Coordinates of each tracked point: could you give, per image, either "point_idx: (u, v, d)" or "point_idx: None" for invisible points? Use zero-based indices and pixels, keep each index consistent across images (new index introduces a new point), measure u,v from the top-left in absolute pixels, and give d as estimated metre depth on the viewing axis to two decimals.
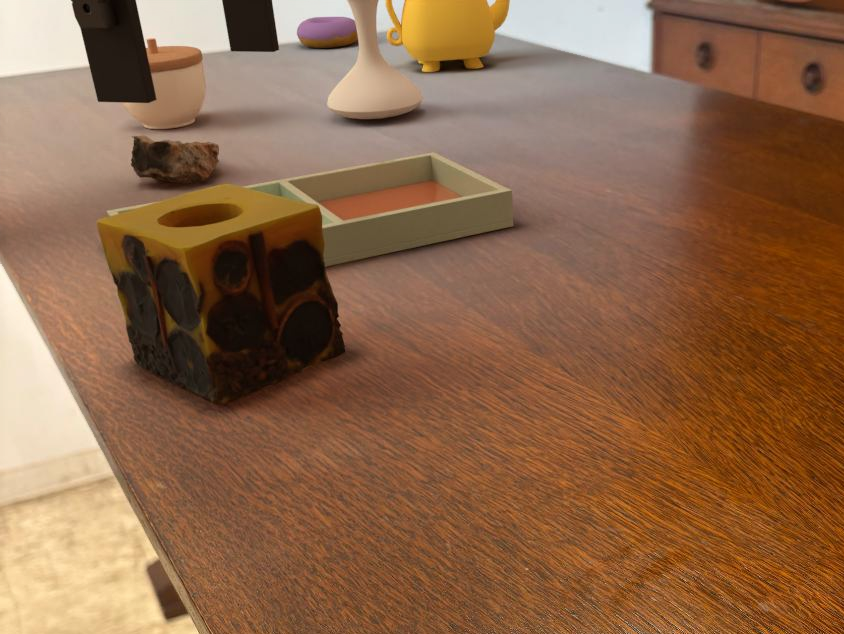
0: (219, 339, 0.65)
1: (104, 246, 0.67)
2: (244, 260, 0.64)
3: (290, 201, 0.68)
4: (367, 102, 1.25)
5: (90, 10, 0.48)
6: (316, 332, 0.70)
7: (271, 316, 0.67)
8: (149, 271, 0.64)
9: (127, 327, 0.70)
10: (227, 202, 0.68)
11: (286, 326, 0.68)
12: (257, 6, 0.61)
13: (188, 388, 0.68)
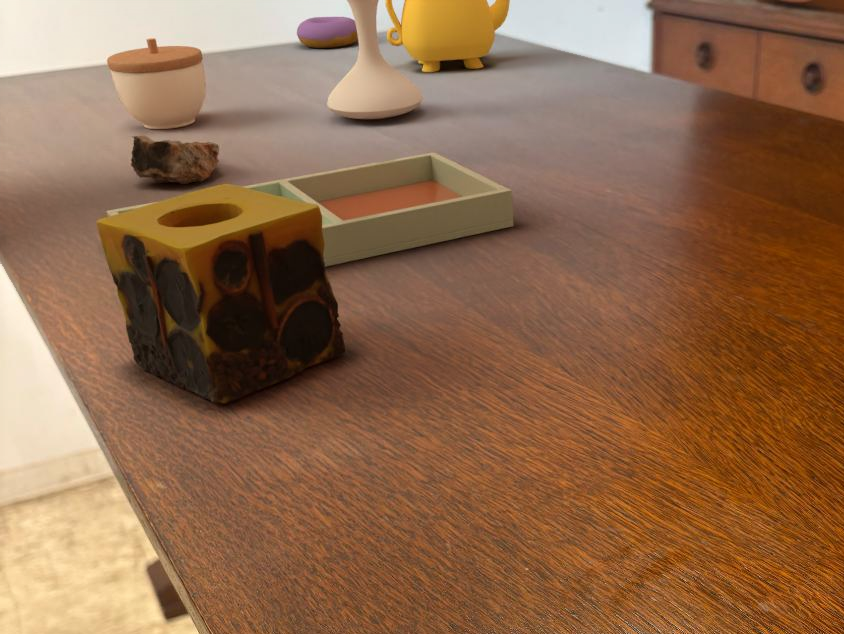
0: (219, 339, 0.65)
1: (105, 246, 0.67)
2: (244, 260, 0.64)
3: (290, 200, 0.68)
4: (367, 102, 1.25)
5: None
6: (316, 332, 0.70)
7: (271, 316, 0.67)
8: (149, 271, 0.64)
9: (127, 327, 0.70)
10: (227, 202, 0.68)
11: (286, 326, 0.68)
12: None
13: (188, 388, 0.68)
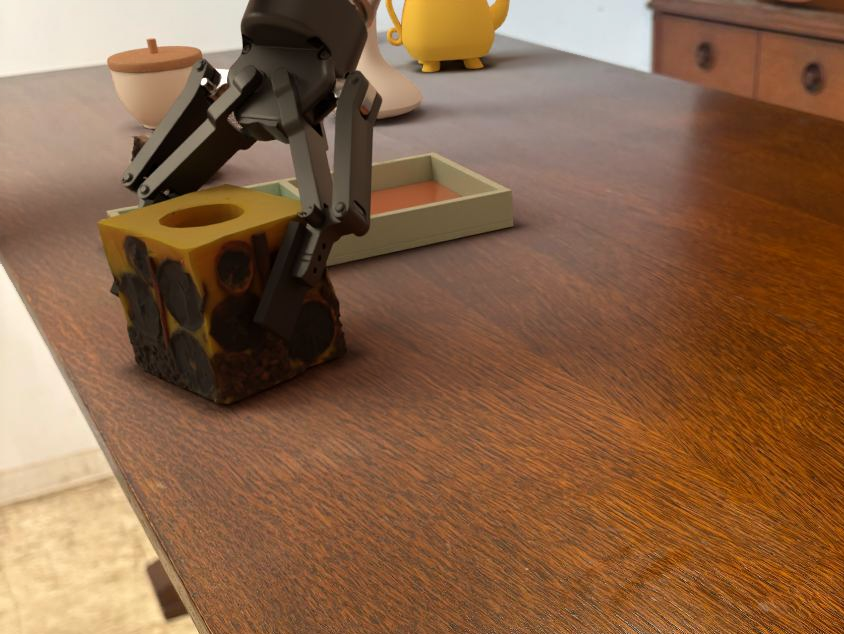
0: (223, 339, 0.65)
1: (105, 246, 0.67)
2: (247, 260, 0.64)
3: (291, 201, 0.68)
4: None
5: (315, 272, 0.65)
6: (318, 332, 0.70)
7: None
8: (151, 272, 0.64)
9: (128, 328, 0.70)
10: (228, 203, 0.68)
11: None
12: None
13: (191, 389, 0.68)
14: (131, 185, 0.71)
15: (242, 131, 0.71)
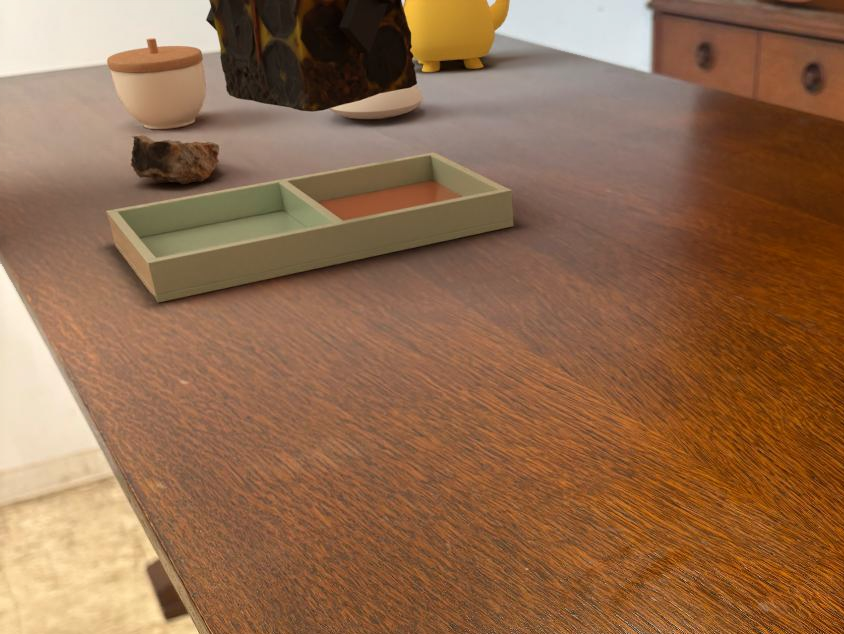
0: (311, 47, 0.72)
1: None
2: None
3: None
4: (367, 102, 1.25)
5: None
6: (392, 58, 0.77)
7: None
8: None
9: (222, 55, 0.77)
10: None
11: None
12: None
13: (279, 103, 0.76)
14: None
15: None
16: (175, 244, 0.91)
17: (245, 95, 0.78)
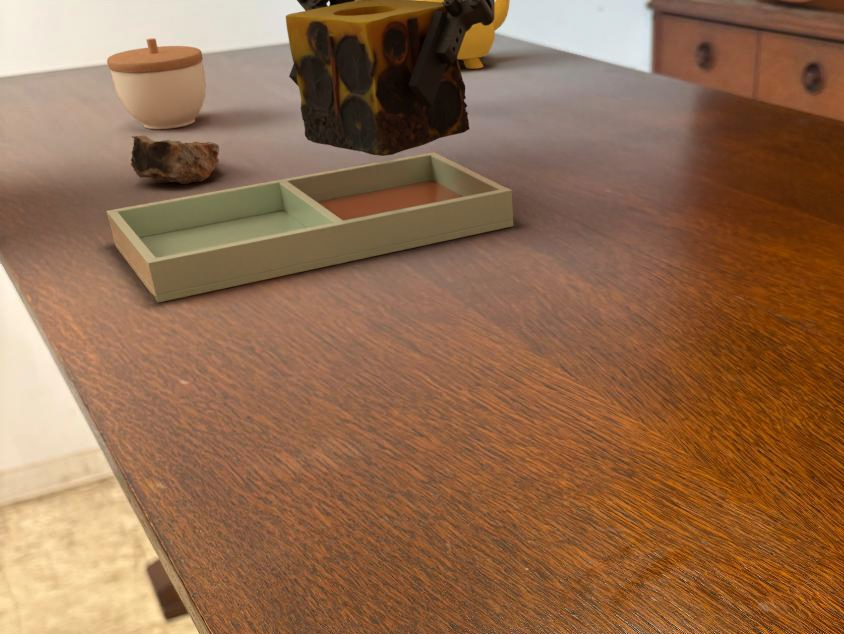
0: (384, 101, 0.85)
1: (290, 36, 0.87)
2: (404, 39, 0.84)
3: (431, 2, 0.88)
4: None
5: (453, 51, 0.85)
6: (449, 108, 0.90)
7: None
8: (330, 49, 0.85)
9: (302, 106, 0.90)
10: (382, 5, 0.88)
11: None
12: None
13: (354, 148, 0.88)
14: None
15: None
16: (175, 244, 0.91)
17: (322, 140, 0.90)
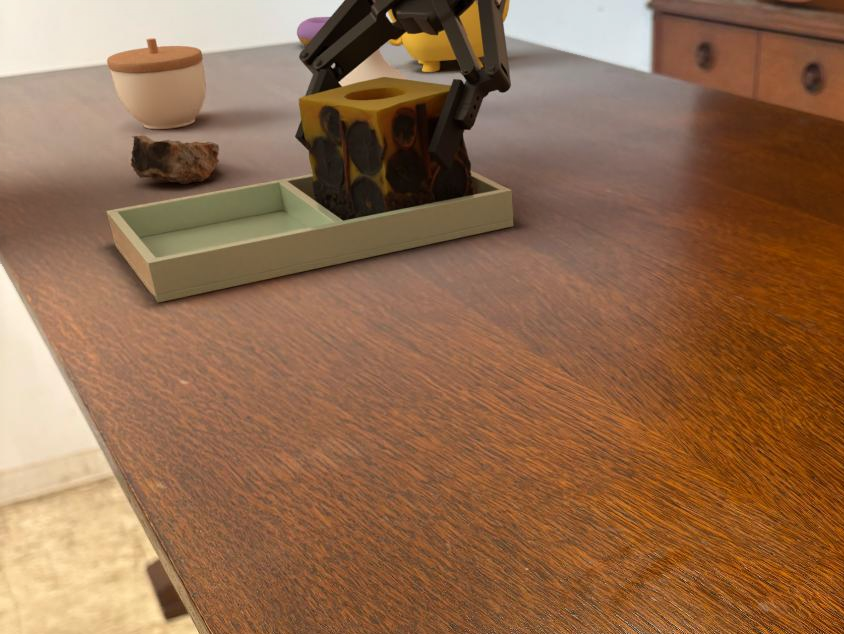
0: (393, 182, 0.88)
1: (303, 118, 0.91)
2: (412, 123, 0.88)
3: (438, 84, 0.91)
4: None
5: (471, 118, 0.88)
6: (455, 185, 0.93)
7: (427, 168, 0.90)
8: (342, 132, 0.88)
9: (314, 182, 0.93)
10: (391, 87, 0.92)
11: (436, 177, 0.91)
12: None
13: None
14: (306, 60, 0.95)
15: (394, 25, 0.95)
16: (175, 244, 0.91)
17: None
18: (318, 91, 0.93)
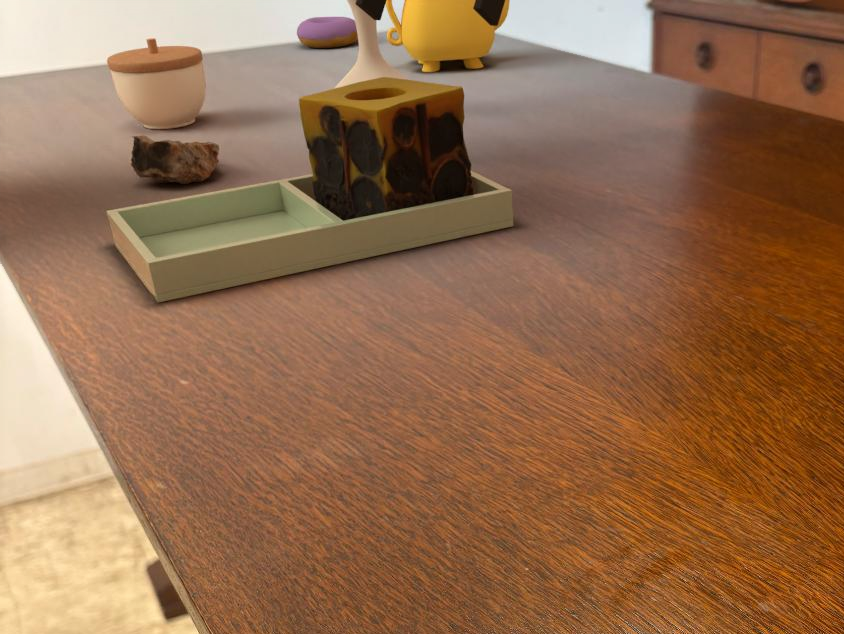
0: (393, 182, 0.88)
1: (303, 118, 0.91)
2: (413, 123, 0.88)
3: (439, 84, 0.91)
4: None
5: None
6: (455, 185, 0.93)
7: (427, 169, 0.90)
8: (342, 132, 0.88)
9: (314, 182, 0.93)
10: (391, 87, 0.92)
11: (436, 177, 0.91)
12: None
13: None
14: None
15: None
16: (175, 244, 0.91)
17: None
18: None
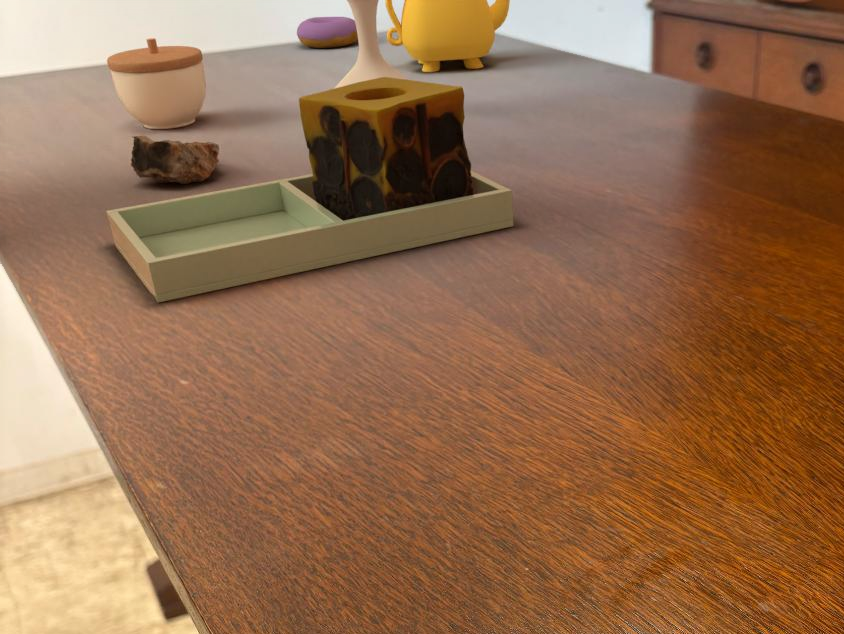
0: (393, 182, 0.88)
1: (303, 117, 0.91)
2: (413, 123, 0.88)
3: (439, 84, 0.91)
4: None
5: None
6: (455, 185, 0.93)
7: (427, 169, 0.90)
8: (342, 132, 0.88)
9: (314, 182, 0.93)
10: (391, 87, 0.92)
11: (436, 177, 0.91)
12: None
13: None
14: None
15: None
16: (175, 244, 0.91)
17: None
18: None
